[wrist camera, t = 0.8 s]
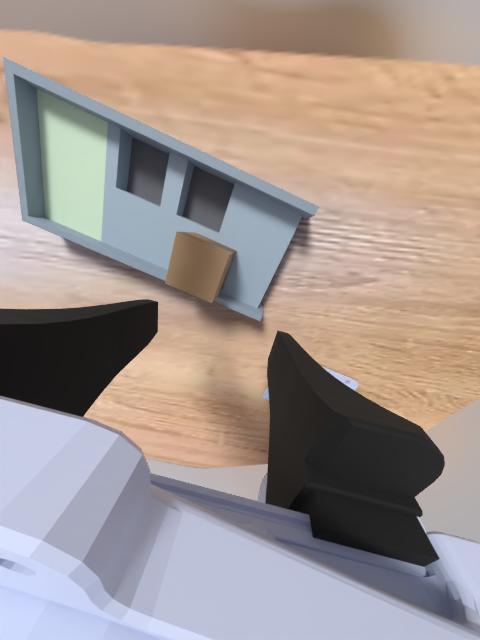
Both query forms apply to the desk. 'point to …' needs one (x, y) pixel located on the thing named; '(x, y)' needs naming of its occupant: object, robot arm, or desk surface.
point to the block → (199, 265)
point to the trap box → (141, 189)
